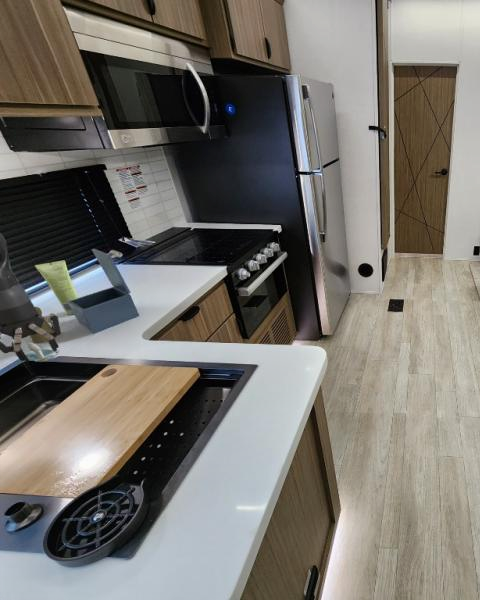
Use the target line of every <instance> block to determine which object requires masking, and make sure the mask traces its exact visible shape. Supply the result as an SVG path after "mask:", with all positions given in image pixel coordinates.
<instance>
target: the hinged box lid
mask: <svg viewBox="0 0 480 600" xmlns="http://www.w3.org/2000/svg"><path fill="white" fill-rule="evenodd" d="M91 251H92V254H94V256H95V258H96V260H97V262H98V263H99V265H100V267H101V269H102V270H103V271H104V274H105V275H106V277H107V279H108V281H109V283H110V285H111V286H112V287H116V288H118V289H120V290H122V291H124V292H126V293H128V294H131V290H130V289H129V287H128V285H127V283H126V281H125V279H124V277H123V276H122V274H121V272H120V270H119V269H118V266H117V265H116V263H115V261H114V258H120V259H121V258H122V257H123V253H122V252H120V251H117V250H115V249H111V250H110V251H109V252H103V251H101V250H99V249H96V248H92V249H91Z"/></svg>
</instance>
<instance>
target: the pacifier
mask: <svg viewBox="0 0 480 600" xmlns="http://www.w3.org/2000/svg"><path fill="white" fill-rule="evenodd" d="M26 345H27V346H26V348H27V349H28V350H29V351H28V352H27V353H25V355H26V356H27V358H28V359H29V361H34V362H35V363H38V362H39V363H44V362H47V361H49V360H53V359H56V358H59V357H60V356H61V355H62V352H61V350H59V349H57V350H56V351H53V350H52V349H49V348H40V347H39V346H38V345H37V344H36V343H33V342H32V341H30V342H28V343H27V344H26Z"/></svg>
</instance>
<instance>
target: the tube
mask: <svg viewBox="0 0 480 600" xmlns="http://www.w3.org/2000/svg"><path fill="white" fill-rule="evenodd" d="M66 263H67V262H66V260H59V261H53V262H47V263H41V264H36V265H34V267H35V268H36V270H37V271H38V272H39V273H40V275H41V277H43V279H44V280H45V282H46V283H47V285H48V286H49V288H50V289H51V291H52V292H53V294H54V295H55V297H56V299H57V301H58V303H59V304H60V305H61V307H62V309H63V310H64V312H65V314H66V315H74V313H73V311H72V309H71V308H70V306H69V304H68V302H67V301H70V300H74V299H77V298H79V295H78V293H77V291H76V289H75V286H74V283H73V281H72V278H71V276H70V273H69V270H68V267H67V264H66Z"/></svg>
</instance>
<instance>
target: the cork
mask: <svg viewBox="0 0 480 600" xmlns="http://www.w3.org/2000/svg"><path fill="white" fill-rule="evenodd" d="M34 307H35V309H36V310H37V312H38V314H39V315H41V316H43V311H42V309H41V308H40V307H38V306H34ZM41 328H42V329H44V330H45V331H47V332H48V333H50V332H52V326H51V324H50V323H48V322H47V321H46V320H44V322H43V325H42V327H41ZM29 337H30V340H31V343H33V344H41V343H45V342H48V341H47V340H46V339H47V338H45V337H44V336H42V335H40V334H39V333H37V334H35V335H30V336H29Z"/></svg>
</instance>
